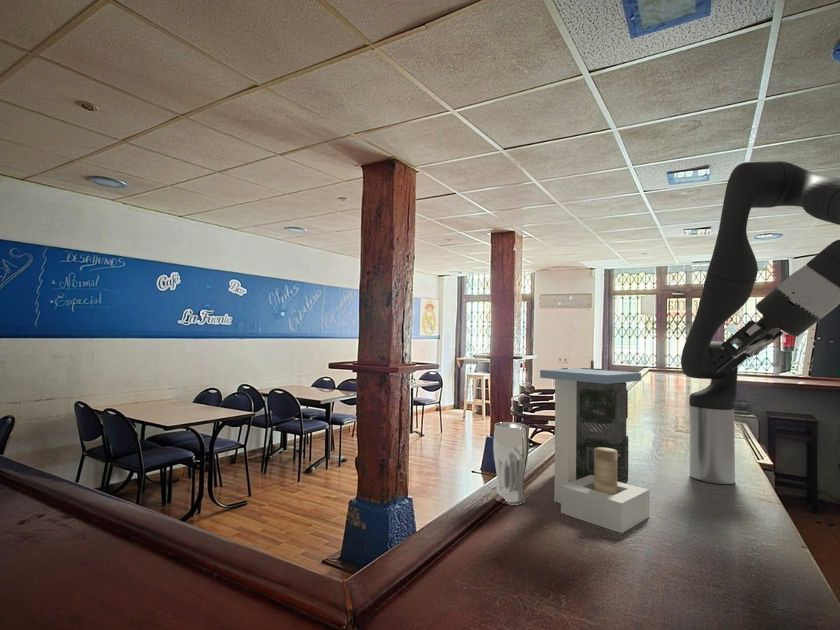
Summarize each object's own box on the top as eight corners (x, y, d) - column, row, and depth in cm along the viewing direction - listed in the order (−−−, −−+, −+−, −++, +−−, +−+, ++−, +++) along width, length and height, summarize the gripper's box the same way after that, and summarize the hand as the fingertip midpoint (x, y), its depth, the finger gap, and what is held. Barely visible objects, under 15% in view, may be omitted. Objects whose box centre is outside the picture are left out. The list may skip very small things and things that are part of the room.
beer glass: (507, 508, 86) (508, 429, 87) (485, 497, 93) (486, 423, 93) (535, 503, 90) (536, 427, 90) (512, 492, 96) (513, 421, 97)
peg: (597, 509, 87) (598, 446, 88) (619, 514, 85) (619, 449, 86) (591, 515, 84) (591, 450, 85) (613, 521, 82) (613, 453, 82)
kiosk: (618, 535, 76) (618, 376, 77) (538, 508, 87) (540, 370, 89) (652, 515, 85) (651, 373, 86) (575, 493, 96) (576, 368, 98)
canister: (632, 494, 97) (632, 363, 98) (555, 485, 102) (556, 360, 103) (624, 474, 112) (624, 360, 113) (557, 467, 117) (558, 358, 118)
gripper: (788, 289, 79) (713, 352, 87) (768, 281, 69) (686, 352, 78) (829, 319, 75) (746, 382, 83) (814, 315, 65) (722, 386, 73)
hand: (717, 367), depth 80 cm, fingers open, 8 cm apart
